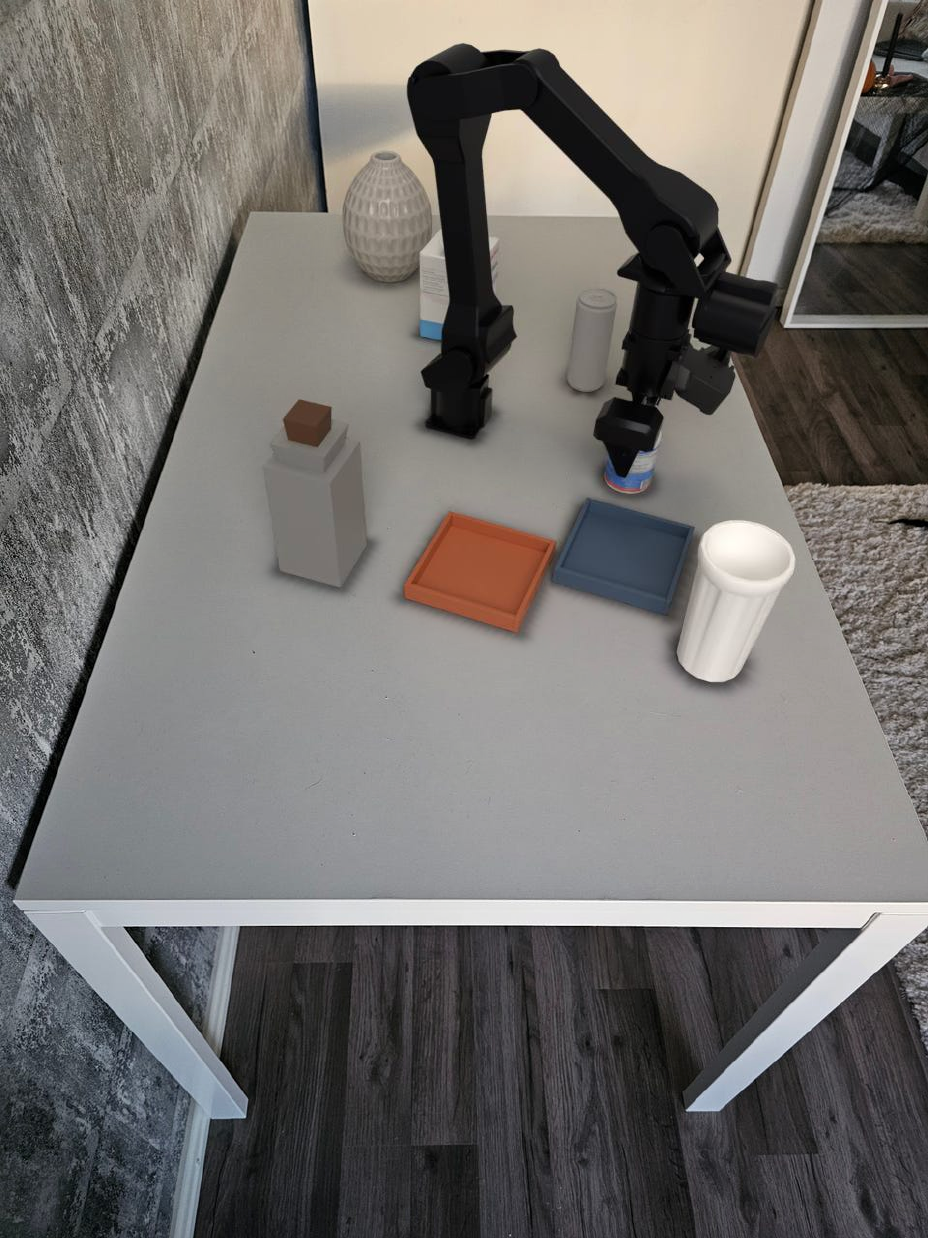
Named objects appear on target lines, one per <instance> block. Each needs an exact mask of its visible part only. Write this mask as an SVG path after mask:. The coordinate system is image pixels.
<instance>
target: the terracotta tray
mask: <svg viewBox="0 0 928 1238" xmlns="http://www.w3.org/2000/svg"><path fill="white" fill-rule="evenodd" d="M556 546H557V541H556V540H553V539H550V538H546V537H543V536H539V535H537V534H533V533H528V532H525V531H522V530H518V529H515V528H511V527H507V526H505V525H501V524H498V523H493V522H490V521H488V520H487V521H486V520H483V519H479V518H476V517H473V516H469V515H466V514H461V513H458V512H454V511H451V510H449V511H448V513H447V514H446V516H445V517H444V519H443V521H442V522H441V524H440V526H439V528H438V529H437V531H436V532H435V534H434V536H433V537H432V539H431V541H430V542H429V543H428V545H427V547H426V548H425V550H424V552H423V553H422V555H421V556H420V557H419V560H418V562H417V563H416V565H415V566H414V568H413V570H412V571H411V573H410V575H408V578H407V580H406V581H405V582H404V585H403V586H404V599H408V600H410V601H414V602H417V603H420V604H423V605H427V606H430V607H433V608H435V609H439V610H442V611H446V612H449V613H452V614H456V615H458V616H462V617H465V618H468V619H472V620H475V621H477V622H481V623H485V624H488V625H491V626H494V627H496V628H497V627H498V628H501V629H504V630H507V631H510V632H513V633H517V634H518V633H519V630H520V629H521V626H522V624H523V622H524V621H525V617H526V615H527V613H528V612H529V609H530V607H531V605H532V603H533V600H534V599H535V597H536V594H537V592H538V590H539V588H540V586H541V583H542V581H543V580H544V577H545V575H546V573H547V571H548V570H549V566H550V564H551V562H552V560H553V558H554V556H555V553H556Z"/></svg>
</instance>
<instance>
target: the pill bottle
mask: <svg viewBox="0 0 928 1238" xmlns="http://www.w3.org/2000/svg"><path fill="white" fill-rule="evenodd" d="M646 402H647V400H646V401H645V403H644V404H646ZM655 407H657V408H658V409H659V411H660V412H661V410H660V408H659V405H658V406H657V405H656V406H655ZM662 434H663V432H662V430H661V431H660V434H659V437H658V440H657V442H656V444H655V447H654V449H653V451H650V452H642V451H639V452H638V454H637V456H636V459H635V461H634V463H633V465H632V467H631V469H630V471H629V473H628V475H627V477H626V478H622V477H619V476H617V475H616V473H615V470H614V468H613V465H612V462H611V460H610V457H609V455H608V454H607V455H606V456H607V457H606V463H605V467H604V468H605V469H604V473H603V477H604V481H605V483H606V484H607V486H608V487H609V488H611V489H612V490H614V491H616V492H618V493H622V494H628V495H629V494H630V495H633V494H639V493H641V492H643V491H645V490H646V489H648V487H650V484H651V482H652V478H653V473H654V470H655V465H656V461H657V457H658V453H659V449H660V445H661V441H662V437H663V436H662Z"/></svg>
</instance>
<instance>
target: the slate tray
mask: <svg viewBox="0 0 928 1238" xmlns="http://www.w3.org/2000/svg"><path fill="white" fill-rule="evenodd" d="M695 529H696V527H695V526H693V525H689V524H687V523H681V522H678V521H674V520H672V519H668V518H663V517H660V516H657V515H652V514H649V513H645V512H642V511H638V510H634V509H630V508H627V507H624V506H621V505H616V504H612V503H608V502H606V501H605V502H604V501H601V500H597V499H593V498H590V497H586V499H585V501H584V503H583V505H582V508H581V509H580V512H579V514H578V516H577V519H576V520H575V522H574V525H573V527H572V529H571V531H570V532H569V533H570V534H569V536H568V538H567V540H566V542H565V544H564V546H563V549H562V550H561V553H560V555H559V557H558V559H557V562H556V564H555V566H554V568H553V574H552V580H551V581H552V583H555V584H559V585H563V586H565V587H569V588H573V589H576V590H579V591H583V592H587V593H590V594H593V595H595V596H596V595H597V596H600V597H603V598H606V599H610V600H613V601H616V602H620V603H622V604H623V603H624V604H627V605H630V606H633V607H637V608H640V609H644V610H646V611H647V610H648V611H650V612H654V613H658V614H661V615H664V616H668V613H669V610H670V606H671V604H672V601H673V597H674V595H675V592H676V588H677V585H678V583H679V579H680V576H681V573H682V570H683V567H684V564H685V561H686V558H687V555H688V551H689V549H690V546H691V543H692V540H693V536H694V532H695Z"/></svg>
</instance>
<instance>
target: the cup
mask: <svg viewBox="0 0 928 1238" xmlns="http://www.w3.org/2000/svg"><path fill="white" fill-rule="evenodd" d="M697 561H698V563H697V566H696V570H695V575H694V579H693V583H692V587H691V591H690V595H689V599H688V604H687V607H686V611H685V616H684V618H683V619H684V621H683V623H682V628H681V632H680V636H679V640H678V644H677V649H676V654H677V659H678V662H679V664H680V665H681V667H683V669H684V670H685V671H686V672H687V673H689V674H690V675H692V676H693V677H695V678H696V679H699V680H703V681H706V682H710V683H725V682H727V681H729V680H732V679H735V677H736V676H737V675H739V673H740V672H741V671H742V669H743V667H744V665H745V663H746V661H747V659H748V657H749V655H750V654H751V652H752V650H753V647H754V645H755V644H756V641H757V639H758V637H759V635H760V633H761V631H762V629H763V628H764V626H765V623H766V621H767V619H768V618H769V616H770V614H771V611H772V609H773V607H774V606H775V603H776V601H777V600H778V597H779V595H780V594H781V591H782V589H783V587H784V586H785V585H786V584H787V583H788V581H789V580H790V579H791V577H792V576H793V574H794V572H795V567H796V562H797V560H796V556H795V554H794V551H793V548H792V546H791V544H790V542H788V541H787V540H786V539H785V537H783V535H781V534H780V533H779V532H777V531H775V530H774V529H771V528H770V527H768V526H767V525H764V524H763V523H757V522H754V521H749V520H731V519H729V520H725V521H722V522H718V523H715V524H713V525H712V526H711V527H710V528H708V529H707V530H706V531H705V532H704V533H703V534H702V535H701V537H700V540H699V544H698V548H697Z"/></svg>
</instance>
